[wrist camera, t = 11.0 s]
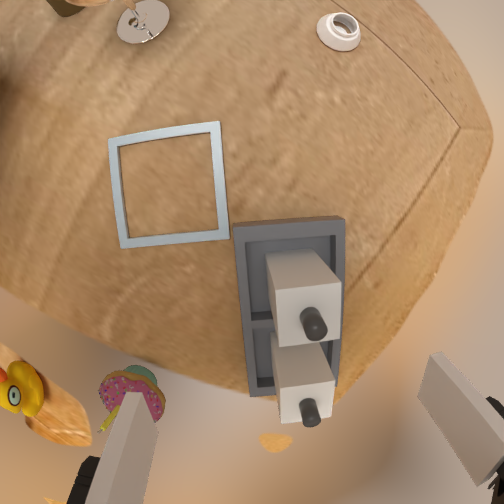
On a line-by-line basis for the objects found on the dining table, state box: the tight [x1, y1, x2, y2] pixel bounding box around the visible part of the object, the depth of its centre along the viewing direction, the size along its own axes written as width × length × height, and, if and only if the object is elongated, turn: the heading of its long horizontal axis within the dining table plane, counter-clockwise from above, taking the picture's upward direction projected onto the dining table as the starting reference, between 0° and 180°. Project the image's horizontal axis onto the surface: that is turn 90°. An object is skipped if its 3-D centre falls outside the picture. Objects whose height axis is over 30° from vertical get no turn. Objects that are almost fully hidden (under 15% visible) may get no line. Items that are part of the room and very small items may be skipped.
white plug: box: [270, 331, 335, 427], centre depth 29 cm, size 5×5×12 cm
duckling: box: [0, 361, 44, 417], centre depth 31 cm, size 11×5×10 cm, turn 5°
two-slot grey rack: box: [233, 216, 345, 397], centre depth 33 cm, size 11×21×2 cm, turn 4°
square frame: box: [108, 121, 230, 249], centre depth 29 cm, size 12×12×1 cm
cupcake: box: [98, 365, 166, 433], centre depth 30 cm, size 9×8×12 cm
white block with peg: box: [265, 248, 341, 347], centre depth 26 cm, size 5×5×12 cm
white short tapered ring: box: [317, 13, 360, 51], centre depth 24 cm, size 5×3×5 cm
